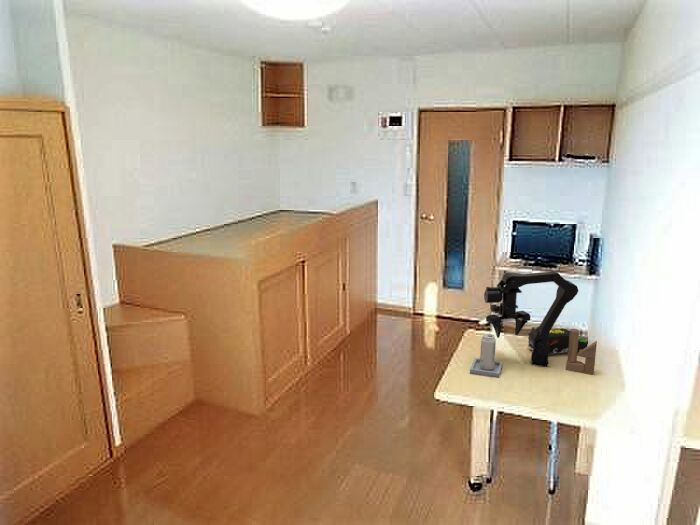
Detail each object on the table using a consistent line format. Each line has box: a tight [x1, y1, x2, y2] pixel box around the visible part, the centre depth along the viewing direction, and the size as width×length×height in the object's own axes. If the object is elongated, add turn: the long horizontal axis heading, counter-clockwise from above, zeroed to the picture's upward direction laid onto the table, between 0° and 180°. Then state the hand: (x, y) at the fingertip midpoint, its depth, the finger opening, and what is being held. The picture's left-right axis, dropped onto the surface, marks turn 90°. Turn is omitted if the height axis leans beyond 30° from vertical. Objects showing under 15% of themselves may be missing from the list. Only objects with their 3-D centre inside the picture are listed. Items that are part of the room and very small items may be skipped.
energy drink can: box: [479, 333, 497, 371], centre depth 220 cm, size 6×6×15 cm
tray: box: [469, 357, 504, 379], centre depth 222 cm, size 12×12×2 cm
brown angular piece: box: [565, 328, 598, 375], centre depth 217 cm, size 4×11×18 cm, turn 60°
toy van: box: [527, 327, 589, 358], centre depth 239 cm, size 11×25×10 cm, turn 99°
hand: (507, 336), depth 224 cm, fingers open, 9 cm apart
